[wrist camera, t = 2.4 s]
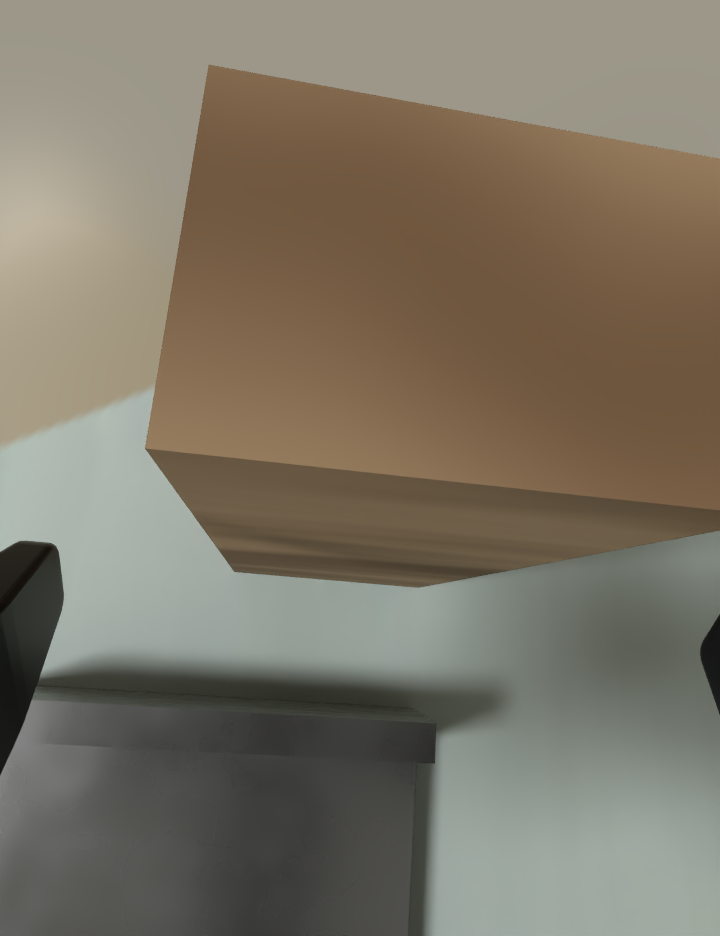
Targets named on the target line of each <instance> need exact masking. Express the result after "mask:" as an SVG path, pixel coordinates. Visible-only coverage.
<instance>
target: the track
mask: <svg viewBox="0 0 720 936" xmlns="http://www.w3.org/2000/svg"><path fill="white" fill-rule="evenodd" d="M435 742H436V723H435V722H433V721H432V720H430V719H429V718H427V717H426V716H424V715H422V714H421V713H419V712H418V711H416V710H414V709H413V708H396V707H380V706H363V705H347V704H331V703H314V702H298V701H281V700H265V699H248V698H232V697H215V696H199V695H183V694H166V693H150V692H133V691H117V690H100V689H84V688H67V687H51V686H36V689H35V692H34V695H33V698H32V701H31V704H30V707H29V710H28V712H27V715H26V718H25V721H24V724H23V726H22V729H21V731H20V733H19V736H18V738H17V740H16V742H15V745H14V747H13V749H12V751H11V753H10V756H9V758H8V760H7V762H6V764H5V766H4V768H3V771H2V773H1V775H0V936H408V925H409V904H410V884H411V863H412V843H413V822H414V801H415V781H416V762H418V763H435Z"/></svg>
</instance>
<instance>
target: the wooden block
mask: <svg viewBox="0 0 720 936" xmlns="http://www.w3.org/2000/svg"><path fill="white" fill-rule="evenodd" d="M145 449H146V450H147V452H148V453H149V454H150V456H151V457H152V459H153V460H154V461H155V463H156V464H157V465H158V467H159V468H160V470H161V471H162V472H163V474H164V475H165V477H166V478H167V479H168V481H169V482H170V483H171V485H172V486H173V488H174V489H175V490H176V492H177V493H178V494H179V496H180V497H181V499H182V500H183V501H184V503H185V504H186V506H187V507H188V508H189V510H190V511H191V512H192V514H193V515H194V517H195V518H196V519H197V521H198V522H199V524H200V525H201V526H202V528H203V529H204V530H205V532H206V533H207V535H208V536H209V537H210V539H211V540H212V541H213V543H214V544H215V546H216V547H217V548H218V550H219V551H220V553H221V554H222V555H223V557H224V558H225V559H226V561H227V562H228V564H229V565H230V566H231V568H232V569H233V570H234V572H243V573H254V574H266V575H278V576H289V577H301V578H313V579H324V580H336V581H348V582H359V583H371V584H383V585H395V586H406V587H418V588H419V587H424V586H430V585H435V584H440V583H445V582H451V581H456V580H461V579H466V578H472V577H477V576H482V575H487V574H493V573H498V572H503V571H509V570H514V569H519V568H524V567H530V566H535V565H540V564H545V563H551V562H556V561H561V560H566V559H572V558H577V557H582V556H587V555H593V554H598V553H603V552H609V551H614V550H619V549H624V548H630V547H635V546H640V545H645V544H651V543H656V542H661V541H666V540H672V539H677V538H682V537H687V536H693V535H698V534H703V533H709V532H714V531H719V530H720V159H718V158H711V157H707V156H702V155H696V154H691V153H685V152H680V151H674V150H669V149H664V148H658V147H653V146H647V145H641V144H636V143H631V142H626V141H620V140H615V139H609V138H604V137H598V136H592V135H588V134H582V133H577V132H571V131H566V130H560V129H555V128H549V127H544V126H539V125H533V124H528V123H522V122H517V121H511V120H506V119H500V118H495V117H489V116H484V115H479V114H473V113H468V112H463V111H457V110H452V109H446V108H441V107H435V106H430V105H425V104H419V103H413V102H408V101H402V100H397V99H392V98H387V97H380V96H376V95H370V94H365V93H359V92H354V91H349V90H343V89H338V88H332V87H327V86H321V85H315V84H310V83H305V82H300V81H294V80H289V79H283V78H277V77H272V76H267V75H261V74H256V73H251V72H245V71H239V70H235V69H229V68H224V67H218V66H212V65H209V66H208V73H207V78H206V85H205V91H204V97H203V103H202V109H201V115H200V121H199V127H198V133H197V139H196V145H195V151H194V157H193V163H192V169H191V175H190V181H189V187H188V193H187V199H186V205H185V211H184V217H183V223H182V230H181V235H180V241H179V248H178V253H177V259H176V265H175V272H174V277H173V284H172V290H171V296H170V302H169V308H168V314H167V320H166V326H165V332H164V338H163V344H162V350H161V356H160V362H159V368H158V374H157V380H156V386H155V392H154V398H153V404H152V410H151V416H150V422H149V428H148V434H147V440H146V446H145Z"/></svg>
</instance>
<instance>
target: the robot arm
mask: <svg viewBox="0 0 720 936" xmlns="http://www.w3.org/2000/svg"><path fill="white" fill-rule="evenodd" d="M63 600H64V591H63V583H62V574H61V566H60V558H59V552H58V549H57V547H56V546H55V545H54V544H52V543H46V542H34V541H19V542H17V543H15V544H13V545H11V546H9V547H8V548H6V549H4V550H3V551H1V552H0V775H1V773H2V771H3V768H4V766H5V764H6V762H7V760H8V758H9V756H10V753H11V751H12V749H13V747H14V745H15V742H16V740H17V738H18V736H19V733H20V731H21V729H22V726H23V724H24V721H25V718H26V715H27V712H28V710H29V707H30V704H31V701H32V698H33V695H34V692H35V689H36V686H37V683H38V680H39V677H40V674H41V671H42V668H43V665H44V662H45V659H46V656H47V653H48V650H49V647H50V644H51V641H52V638H53V635H54V632H55V629H56V626H57V623H58V620H59V617H60V614H61V611H62V606H63ZM700 656H701V661H702V665H703V667H704V670H705V673H706V676H707V679H708V682H709V685H710V688H711V691H712V693H713V696H714V699H715V702H716V705H717V708H718V711H719V714H720V614H719V616H718V618H717V619H716V621H715V622H714V624H713V626H712V627H711V629H710V630H709V632H708V634H707V635H706V637H705V638H704V640H703V642H702V644H701V648H700Z"/></svg>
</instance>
